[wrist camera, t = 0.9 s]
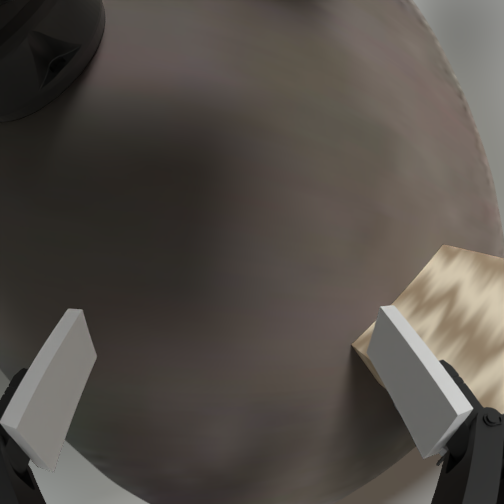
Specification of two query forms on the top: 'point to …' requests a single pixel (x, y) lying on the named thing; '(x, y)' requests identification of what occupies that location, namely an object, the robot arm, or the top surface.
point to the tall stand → (458, 319)
